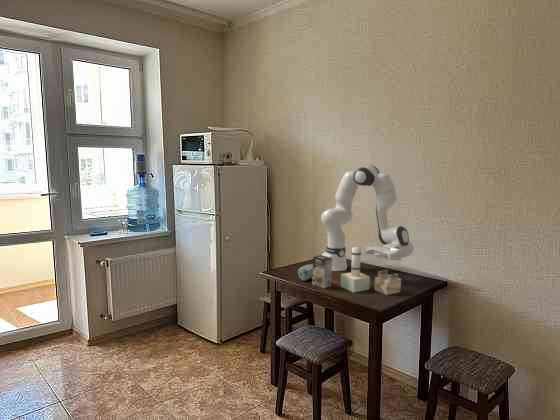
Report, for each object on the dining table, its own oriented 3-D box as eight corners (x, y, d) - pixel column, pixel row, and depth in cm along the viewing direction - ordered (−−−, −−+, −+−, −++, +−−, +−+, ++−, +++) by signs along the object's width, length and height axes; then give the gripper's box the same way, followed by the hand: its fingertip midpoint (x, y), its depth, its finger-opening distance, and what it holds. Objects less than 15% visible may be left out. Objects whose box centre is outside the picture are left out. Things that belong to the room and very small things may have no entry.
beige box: (340, 286, 213) (340, 274, 212) (355, 283, 218) (356, 271, 218) (353, 292, 204) (354, 279, 203) (369, 289, 209) (370, 276, 208)
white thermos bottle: (348, 274, 211) (349, 247, 209) (355, 273, 214) (356, 246, 212) (354, 277, 207) (355, 249, 205) (362, 275, 209) (363, 248, 207)
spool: (306, 278, 217) (304, 260, 221) (295, 282, 223) (293, 265, 227) (323, 279, 225) (321, 262, 229) (312, 283, 232) (309, 267, 236)
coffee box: (311, 284, 216) (312, 256, 214) (319, 282, 220) (320, 254, 218) (323, 288, 209) (324, 259, 207) (331, 286, 213) (332, 257, 211)
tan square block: (374, 289, 208) (375, 271, 207) (387, 287, 213) (388, 269, 212) (386, 295, 200) (387, 276, 199) (400, 291, 205) (401, 273, 204)
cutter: (328, 284, 217) (328, 281, 216) (333, 282, 221) (333, 279, 221) (350, 289, 208) (350, 287, 207) (355, 287, 212) (355, 284, 212)
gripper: (377, 242, 230) (359, 245, 223) (403, 249, 212) (385, 252, 205) (376, 253, 230) (358, 255, 224) (403, 260, 213) (384, 263, 206)
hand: (371, 254), depth 214 cm, fingers open, 8 cm apart
